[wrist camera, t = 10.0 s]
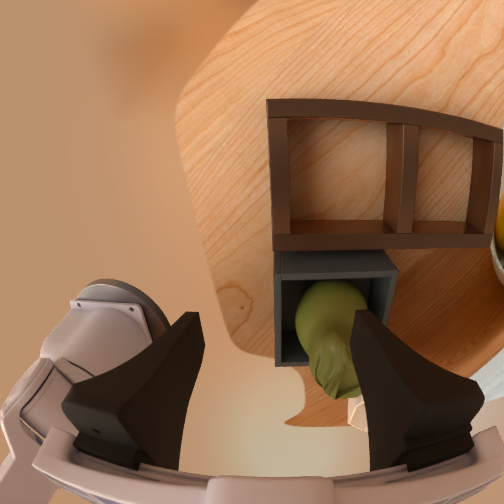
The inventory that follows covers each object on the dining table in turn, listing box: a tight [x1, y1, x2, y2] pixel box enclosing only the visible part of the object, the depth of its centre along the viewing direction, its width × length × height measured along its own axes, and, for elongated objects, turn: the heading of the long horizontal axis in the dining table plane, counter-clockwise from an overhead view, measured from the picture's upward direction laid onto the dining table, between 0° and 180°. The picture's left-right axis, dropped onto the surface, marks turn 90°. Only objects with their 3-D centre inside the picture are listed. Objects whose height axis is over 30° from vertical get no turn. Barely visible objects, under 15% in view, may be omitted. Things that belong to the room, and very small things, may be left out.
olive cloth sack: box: [295, 279, 367, 400], centre depth 19 cm, size 6×5×10 cm
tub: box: [273, 249, 399, 367], centre depth 22 cm, size 8×8×5 cm
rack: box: [266, 99, 503, 252], centre depth 18 cm, size 10×19×3 cm, turn 93°
